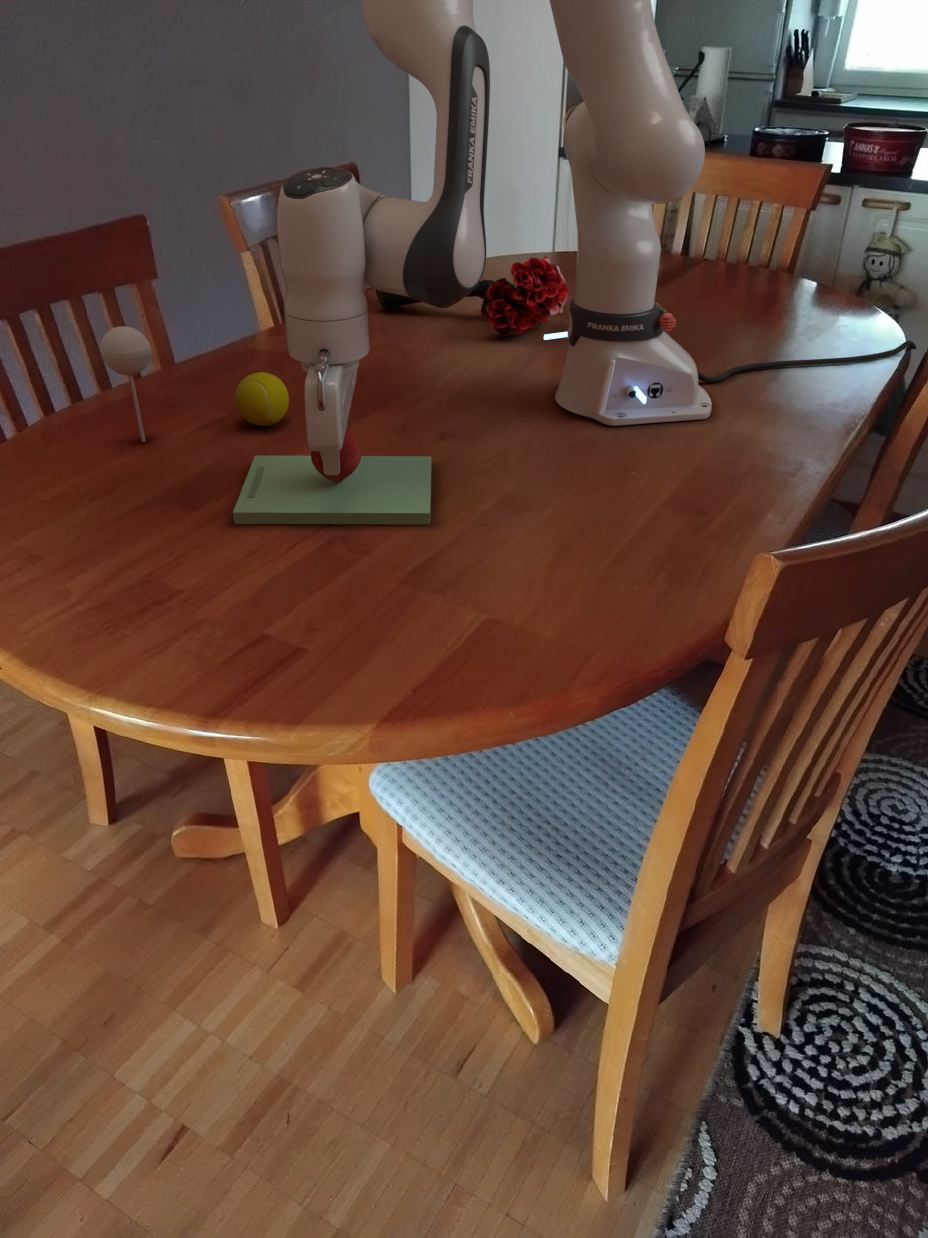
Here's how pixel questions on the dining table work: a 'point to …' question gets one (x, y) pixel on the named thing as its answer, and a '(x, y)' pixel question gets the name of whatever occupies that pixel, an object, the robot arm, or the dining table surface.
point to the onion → (341, 458)
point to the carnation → (512, 297)
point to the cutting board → (336, 492)
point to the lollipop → (127, 357)
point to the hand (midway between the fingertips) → (336, 454)
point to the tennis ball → (262, 399)
